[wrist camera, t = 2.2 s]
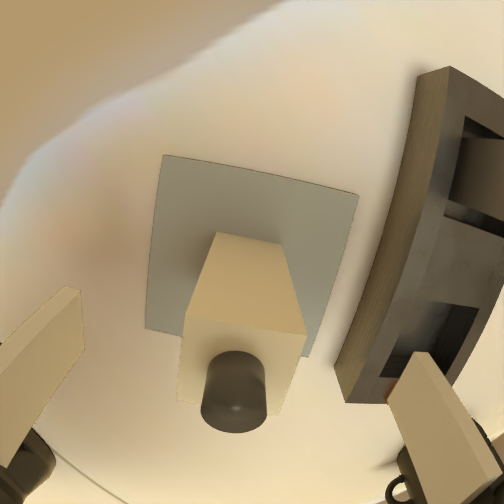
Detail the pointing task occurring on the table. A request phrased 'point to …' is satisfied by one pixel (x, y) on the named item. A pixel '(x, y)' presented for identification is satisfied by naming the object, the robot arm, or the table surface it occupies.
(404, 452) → the mug
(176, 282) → the mat
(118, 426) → the table surface
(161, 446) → the table surface
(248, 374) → the plug
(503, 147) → the twin plug
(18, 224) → the table surface
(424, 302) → the strip
